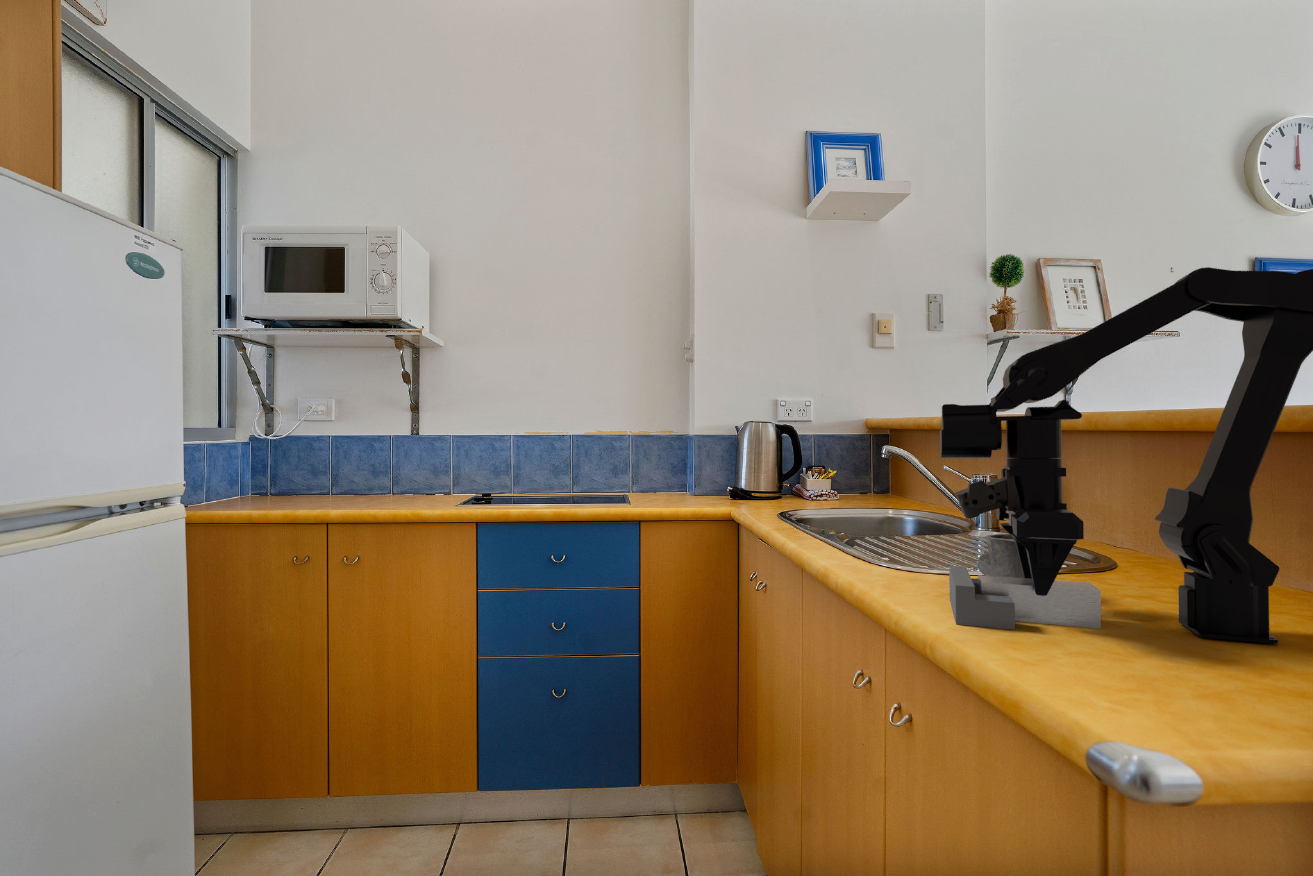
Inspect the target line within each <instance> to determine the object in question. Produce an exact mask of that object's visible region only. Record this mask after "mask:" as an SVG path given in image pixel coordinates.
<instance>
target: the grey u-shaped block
mask: <svg viewBox="0 0 1313 876" xmlns="http://www.w3.org/2000/svg"><path fill="white" fill-rule="evenodd" d="M948 568H949V571H948V572H949V575H948V576H949V602H950V607H951V611H952V615H953V619H954V622H955V625H959V626H970V627H983V628H991V629H1003V630H1015V629H1016V621H1015V603H1014V601H1013V600H1012V598H1011V597H1006V596H992V595H979V594H978V578H972V577H971V575H970V573H969V570H968V568H967V566H959V565H958V566H957V565H949V567H948Z"/></svg>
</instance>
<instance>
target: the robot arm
mask: <svg viewBox="0 0 1313 876" xmlns="http://www.w3.org/2000/svg"><path fill="white" fill-rule="evenodd" d="M1193 312H1200V313H1205V314H1208V315H1212V316H1215V317H1218V318H1221V319H1224V320H1227V321H1228V320H1229V321H1235V322H1241V323H1243V324H1242V330H1241V336H1242V344H1243V345H1242V346H1243V352H1244V354H1243V355H1244V356H1243V360H1242V363H1241V364H1240V368H1239V371H1238V373H1237V375H1236V378H1235V381H1234V383H1233V386H1232V388H1231V391H1230V393H1229V395H1228V398H1227V400H1226V403H1225V406H1224V408H1223V411H1222V413H1221V415H1220V417H1219V421H1218V424H1217V425H1216V428H1215V431H1214V433H1213V436H1212V437H1211V441H1210V443H1209V446H1208V449H1207V451H1206V453H1205V456H1204V458H1203V461H1202V463H1201V466H1200V468H1199V471H1198V473H1197V475H1196V477H1195V478H1194V480H1193V481H1191V483H1190V484H1189V485H1188V486H1187V487H1186V488H1184V489H1181V488H1175V487H1169V488H1168V489H1167V491H1166V494H1165V498H1164V505H1163V507H1162V508H1161V511H1160V512H1159V514H1157V515H1156V516H1154V520H1155V521H1157V522H1160V523H1159V528H1158V529H1159V530H1158V535H1159V538H1160V539H1161V541H1162V542H1163V544H1164V546H1165V547H1166V548H1168V550H1169V551H1171V552H1172V553H1173V554H1176V555H1177V557H1178V560H1179V561H1180V564H1181V565H1182V567H1183V569H1186V570H1189V571H1184V572H1183V584H1180V585H1178V588H1177V590H1178V591H1177V592H1178V619H1177V620H1178V623H1179V624H1181V626H1184V627H1185V628H1187V629H1188V630H1189V631H1191V633H1194V634H1195V635H1196V636H1198V637H1201V638H1204V639H1205V638H1207V639H1215V640H1216V639H1217V640H1227V641H1239V642H1248V643H1249V642H1252V643H1263V644H1275V645H1278V644H1279V639H1278V638H1277V637H1275V636H1273V635H1271V634H1270V593H1269V592H1270V588H1269V587H1272V586H1274V582H1275V580H1276V578H1277V576H1278V574H1279V571H1280V566H1279V565H1277V564H1276V563H1275V562H1273V560H1271V559H1270V558H1269V557H1267V556H1266V555H1265V554H1263V553H1262V552H1261V551H1260V550H1258V549H1257V548H1256V547H1254V546H1253V545H1252V544H1251V543H1250V539H1251V534H1252V528H1253V527H1252V526H1253V521H1254V514H1253V507H1252V498H1251V497H1252V496H1251V490H1252V487H1253V484H1254V481H1255V478H1256V476H1257V474H1258V471H1259V469H1260V467H1261V464H1262V461H1263V459H1264V457H1265V453H1266V452H1267V449H1268V447H1269V444H1270V442H1271V439H1272V437H1273V434H1274V433H1275V430H1276V427H1277V425H1278V422H1279V420H1280V417H1281V415H1282V413H1283V410H1284V408H1285V406H1286V402H1287V401H1288V398H1289V396H1290V393H1291V392H1292V391H1291V390H1292V388H1293V385H1294V383H1295V380H1296V378H1297V376H1298V374H1299V371H1300V368H1301V367H1302V365H1303V363H1304V362H1305V360H1306V359H1307V357H1309V355H1311V353H1313V268H1310V269H1306V270H1301V271H1298V272H1288V271H1286V272H1285V271H1280V270H1230V269H1223V268H1217V267H1210V266H1208V267H1200V268H1198V269H1195V270H1193V271H1190V272H1189V273H1188V274H1186V275H1184V276H1183V277H1181V278H1180V279H1178V280H1176V281H1175V282H1174V284H1171V285H1169V286H1168V287H1166V288H1164V289H1162V290H1161V291H1158V292H1157V293H1155V294H1153V295H1151V296H1150V297H1148V298H1145V299H1144V300H1142V301H1141V302H1139V303H1137V304H1135V305H1133V306H1131V307H1129V308H1128V309H1126V310H1124V311H1122V312H1120V313H1118V314H1116V315H1115V316H1113V317H1111V318H1109V319H1108V320H1105V321H1103V322H1102V323H1100V324H1098V325H1096V326H1095V327H1093V328H1091V329H1089V330H1087V331H1085V332H1083V333H1081V334H1079V335H1076V336H1073V337H1070V338H1067V339H1063V340H1060V341H1058V342H1057V341H1056V342H1054V343H1052V344H1049V345H1046V346H1043V347H1041V348H1039V349H1035V350H1033V351H1029V352H1027V353H1025V354H1023V355H1021V356H1019V357H1018V358H1017V359H1015V360H1014V361H1013V362H1012V363H1011V364H1009V365H1008V366H1007V368H1006V369H1005V371H1004V373H1003V377H1002V386H1003V387H1001V389H1000V390H999V392H997V394H996V395H994V396H993V397H991V398H990V403H988V404H971V405H970V404H969V405H967V404H965V405H962V404H956V403H955V404H953V403H947V404H943V405H941V418H940V419H941V423H940V424H941V425H940V426H941V427H940V428H941V429H940V430H939V453H940V458H941V459H991V458H992V456H993V455H992V452H993V451H1000V450H1002V443H1003V432H1002V431H1003V428H1002V422H1005V434H1006V435H1005V438H1006V441H1005V442H1006V445H1005V447H1006V448H1005V450H1006V454H1005V455H1006V465H1004V466H1003V468H1001V471H1000V472H1001V477H1000V478H997V479H994V480H990V481H987V482H985V481H984V480H981V479H980V480H977V481H975V482H972V483H971V482H969V483H968V484H967V488H964V489H961V490H958V491H956V492H955V493H954V494H955V497H956V499H957V501H958V505H959V506H960V509H961V512H962V514H963V516H964V517H965V519H967V520H969V519H974V518H978V517H980V515H981V514H984V513H988V512H991V511H994V510H995V515H996V520H998V521H1002V522H1000V523H999V526H1001V528H1003V530H1005V531H1006V532H1007V534H1010V535H1011V536H1012V537H1013V538H1014V541H1015V544H1016V548H1017V552H1018V556H1019V560H1020V563H1021V567H1022V571H1023V575H1024V578H1029V579H1032V581H1033V585H1034V590H1035V593H1036V595H1040V596H1046V595H1047V594H1048V592H1049V590H1050V588H1051V586H1052V584H1053V582H1054V581H1055V580H1057V576H1058V574H1059V573H1060V570H1061V569H1062V566H1063V565H1064V563H1065V562H1066V560H1067V558H1068V556H1069V554H1070V553H1071V551H1072V550H1073V547H1074V546H1075V545H1076V544H1077V542H1078V540H1085V539H1084V537H1085V536H1084V535H1085V533H1084V521H1083V519H1081V518H1080V517H1079V516H1078V515H1076V514H1075V513H1074V512H1072V511H1070V510H1068V508H1067V507H1068V504H1067V502H1064V501H1063V477H1067V467H1063V457H1062V456H1063V453H1062V452H1063V451H1062V449H1063V447H1062V446H1063V445H1062V443H1063V441H1062V438H1063V437H1062V436H1063V435H1062V421H1076V420H1079V419H1081V418H1083V414H1082V412H1080V411H1078V410H1077V409H1075V408H1074V407H1072V406H1071V405H1070V403H1069V402H1068V401H1067V400H1066V399H1062V400H1059V401H1058V402H1057V403H1056V404H1054V406H1027V407H1026V409H1025V412H1024V415H1010V416H1009V415H1008V416H1007V415H1006V416H1005V415H1003V416H1002V415H1001V416H997V413H1002V412H1007V411H1010V410H1013V409H1016V408H1018V407H1019V406H1020V405H1022V404H1033V403H1037V402H1041V401H1043V400H1046V399H1049V398H1052V397H1053V396H1055V395H1057V394H1058V393H1059V392H1060V391H1062V390H1063V389H1064V388H1066V387H1067V386H1069V385H1070V384H1071V383H1073V382H1074V381H1075V380H1077V379H1078V378H1079V377H1080V376H1082V375H1083V374H1084V373H1086V371H1088V370H1089V369H1090V368H1091V367H1093V366H1094V365H1095V364H1097V363H1098V362H1100V361H1101V360H1103V359H1105V358H1106V357H1108V356H1110V355H1112V354H1114V353H1116V352H1118V351H1119V350H1122V349H1124V348H1125V347H1127V346H1129V345H1131V344H1133V343H1135V342H1137V341H1138V340H1140V339H1142V338H1144V337H1146V336H1149V335H1150V334H1152V333H1154V332H1156V331H1158V330H1159V329H1161V328H1164V327H1165V326H1167V325H1169V324H1171V323H1173V322H1175V321H1176V320H1178V319H1180V318H1182V317H1185V316H1186V315H1188V314H1190V313H1193ZM1004 520H1006V522H1003V521H1004Z"/></svg>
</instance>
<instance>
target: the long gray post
mask: <svg viewBox="0 0 1313 876" xmlns="http://www.w3.org/2000/svg"><path fill="white" fill-rule="evenodd" d="M977 579H978V594H979V595H992V596H1006V597H1011V598H1012V600H1013V601H1014V603H1015V622H1020V623H1030V624H1031V623H1032V624H1041V625H1042V624H1043V625H1054V626H1055V625H1056V626H1063V627H1064V626H1067V627H1077V628H1088V629H1089V628H1090V629H1099V630H1100V629H1102V610H1101V609H1102V601H1101V597H1102V596H1101V595H1102V594H1101V593H1102V592H1101V590H1100V589H1099V587H1096V585H1094V584H1093V583H1092V582H1090V581H1088V582H1087V581H1073V580H1072V581H1070V580H1058V579H1055V581H1054V582H1053V584H1052V586H1051V588H1050V590H1049V592H1048V594H1047V595H1046V596H1040V595H1036V593H1035V590H1034V585H1033V581H1032V579H1029V578H1014V577H999V576H985V575H983V574H982V575H981V574H979V575H977Z"/></svg>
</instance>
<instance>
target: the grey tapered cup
mask: <svg viewBox="0 0 1313 876" xmlns="http://www.w3.org/2000/svg"><path fill="white" fill-rule="evenodd" d="M984 539H985V542H986V546H987V550H988V551H985V552H984V553H983V554H981V555H980V556H979V557H978V560H977V568H978V571H979V572H980V573H981V574H982V575H984V576H999V577H1014V578H1024V575H1023V571H1022V567H1021V563H1020V560H1019V556H1018V552H1017V548H1016V544H1015V541H1014V538H1013V537H1012V536H1011V535H1010V534H1009V533H996V534H993V533H992V534H988V535H986V536H984Z"/></svg>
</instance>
